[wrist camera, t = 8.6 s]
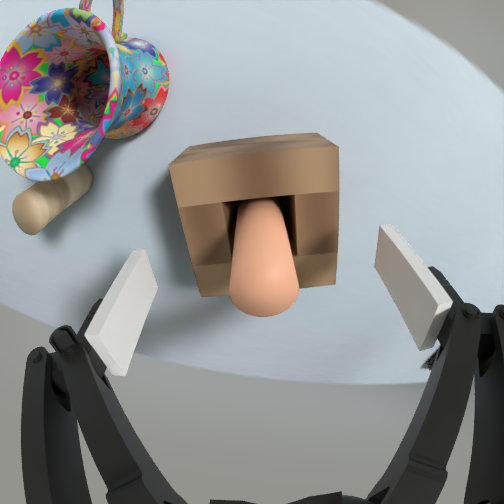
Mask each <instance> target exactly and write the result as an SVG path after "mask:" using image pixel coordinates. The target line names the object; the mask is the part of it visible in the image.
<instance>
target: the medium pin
mask: <svg viewBox="0 0 504 504" xmlns="http://www.w3.org/2000/svg"><path fill="white" fill-rule="evenodd" d="M92 183H93V176H92V172H91V170H90V168H89V167H88V166H87V165H86V164H85V163H84V164H83V165H82V166H81V167H79V168H78V169H77V170H75V171H74V172H72V173H71V174H69V175H67V176H65V177H63V178H60V179H57V180H54V181H40V182H38V183H36V184H35V185H33V186H32V187H30V188H28V189H27V190H25V191H24V192H22V193H21V194H19V195H18V196H16V198H15V199H14V201H13V206H12V210H13V216H14V219H15V221H16V223H17V225H18V226H19V228H20V229H21V230H22V231H23V232H25V233H26V234H29V235H35V234H37V233H38V232H39V231H40V230H42V229H43V228H44V227H45V226H46V225H47V224H48V223H50V222H51V221H52V220H53V219H54V218H55V217H57V216H58V215H59V214H60V213H61V212H63V211H64V210H65V209H66V208H67V207H69V206H70V205H71V204H72V203H74V202H75V201H76V200H78V199H79V198H80V197H81V196H83V195H84V194H85V193H87V192H88V191H89V190H90V188H91V186H92Z"/></svg>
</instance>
